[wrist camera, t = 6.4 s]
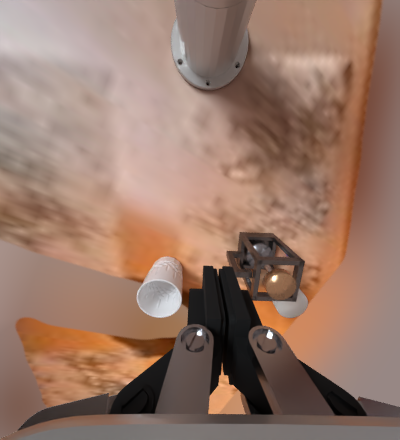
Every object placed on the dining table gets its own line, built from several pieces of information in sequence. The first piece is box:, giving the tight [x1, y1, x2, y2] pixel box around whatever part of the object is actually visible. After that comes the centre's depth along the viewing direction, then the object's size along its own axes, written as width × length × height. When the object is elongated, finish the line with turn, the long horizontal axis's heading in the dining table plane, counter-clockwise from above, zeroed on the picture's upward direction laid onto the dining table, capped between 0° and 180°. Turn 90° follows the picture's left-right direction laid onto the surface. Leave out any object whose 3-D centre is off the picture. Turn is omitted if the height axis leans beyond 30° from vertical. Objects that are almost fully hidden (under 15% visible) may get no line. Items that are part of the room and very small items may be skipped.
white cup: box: [137, 256, 183, 318], centre depth 38 cm, size 8×8×10 cm
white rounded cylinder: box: [263, 275, 308, 318], centre depth 40 cm, size 6×6×8 cm
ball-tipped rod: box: [246, 243, 296, 300], centre depth 34 cm, size 5×5×11 cm
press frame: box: [226, 232, 305, 302], centre depth 36 cm, size 7×10×13 cm
